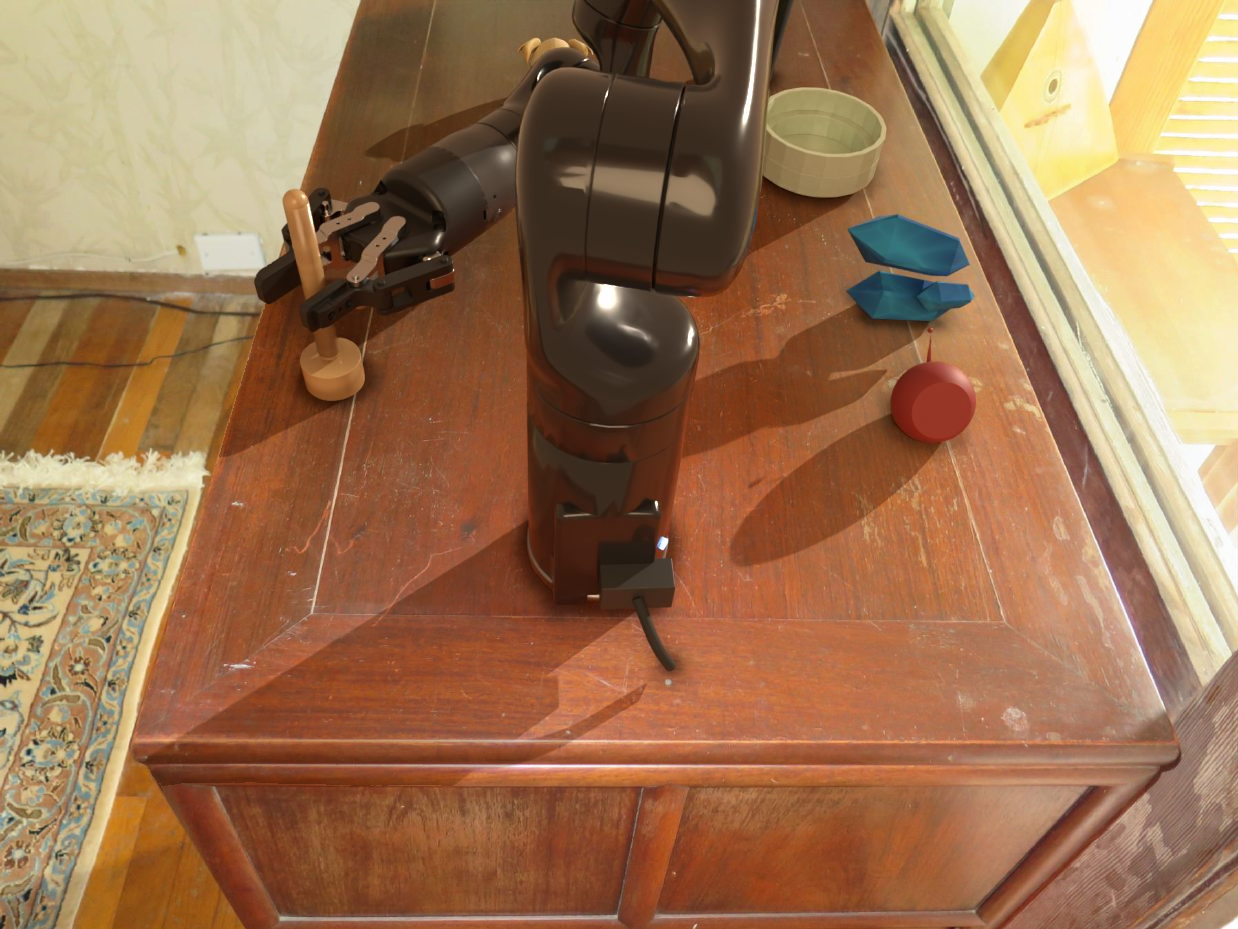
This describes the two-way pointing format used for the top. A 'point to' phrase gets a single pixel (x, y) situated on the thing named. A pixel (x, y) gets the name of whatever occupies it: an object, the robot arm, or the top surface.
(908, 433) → the red frying pan
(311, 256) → the wooden peg
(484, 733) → the top surface
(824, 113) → the bowl
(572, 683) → the top surface
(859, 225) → the teal crystals
